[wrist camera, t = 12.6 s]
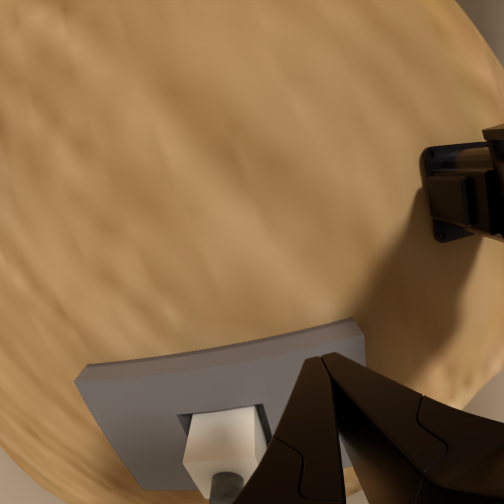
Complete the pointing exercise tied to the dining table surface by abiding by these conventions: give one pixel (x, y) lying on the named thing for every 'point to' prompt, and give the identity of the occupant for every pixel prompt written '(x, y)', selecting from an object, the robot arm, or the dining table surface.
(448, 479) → the robot arm
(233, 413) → the plug
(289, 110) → the dining table surface
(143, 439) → the socket plate
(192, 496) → the dining table surface
